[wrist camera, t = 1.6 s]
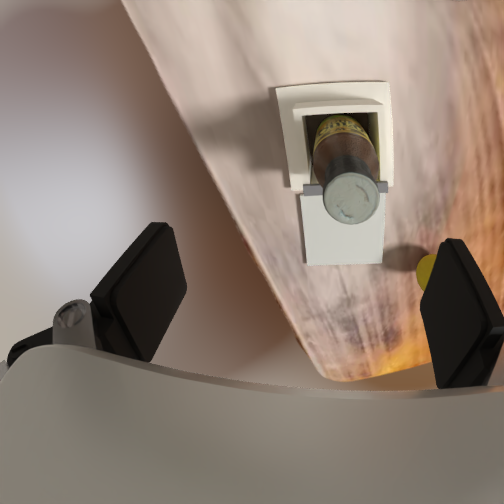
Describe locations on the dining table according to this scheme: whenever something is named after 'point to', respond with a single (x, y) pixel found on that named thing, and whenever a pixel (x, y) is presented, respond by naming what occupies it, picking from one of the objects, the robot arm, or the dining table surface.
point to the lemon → (425, 270)
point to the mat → (341, 235)
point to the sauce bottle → (346, 169)
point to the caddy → (327, 102)
